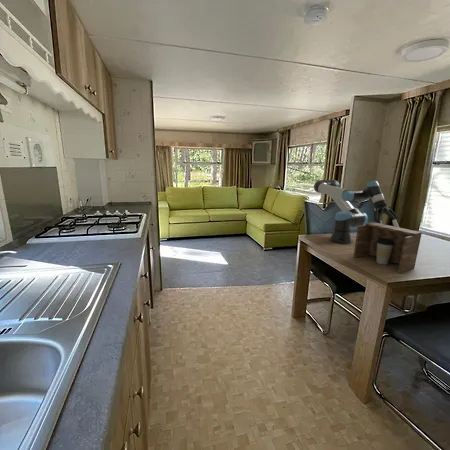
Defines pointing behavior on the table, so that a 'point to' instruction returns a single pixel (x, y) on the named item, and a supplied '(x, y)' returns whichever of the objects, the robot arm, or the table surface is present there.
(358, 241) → the walnut box
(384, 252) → the coffee cup
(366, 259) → the table surface
